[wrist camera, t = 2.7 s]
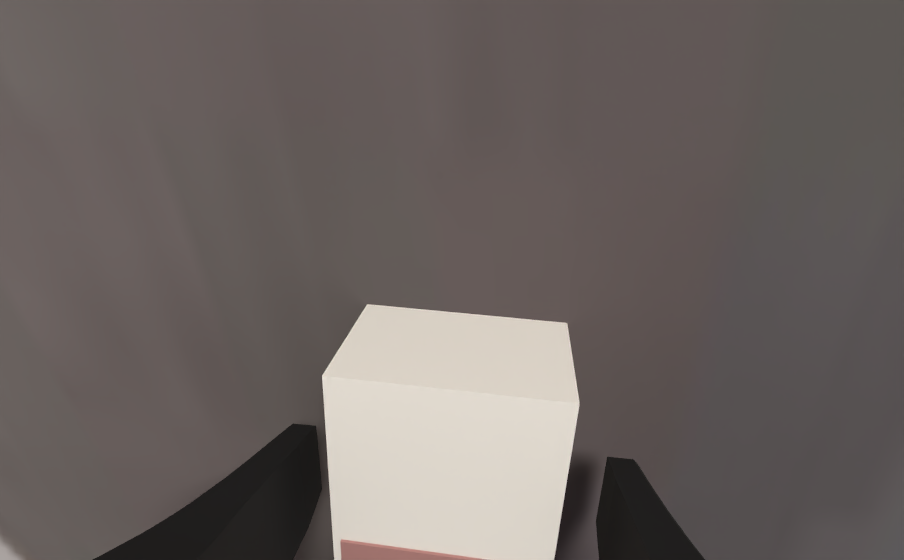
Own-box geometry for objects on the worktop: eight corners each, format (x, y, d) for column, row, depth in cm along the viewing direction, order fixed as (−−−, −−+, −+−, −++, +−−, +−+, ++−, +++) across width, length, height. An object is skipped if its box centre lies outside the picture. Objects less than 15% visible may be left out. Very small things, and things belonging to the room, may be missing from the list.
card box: (566, 319, 13) (580, 405, 10) (537, 526, 16) (540, 647, 13) (369, 300, 14) (320, 377, 10) (374, 505, 16) (336, 616, 13)
